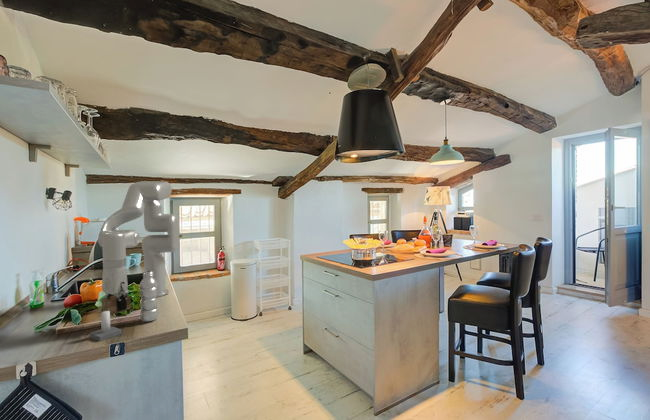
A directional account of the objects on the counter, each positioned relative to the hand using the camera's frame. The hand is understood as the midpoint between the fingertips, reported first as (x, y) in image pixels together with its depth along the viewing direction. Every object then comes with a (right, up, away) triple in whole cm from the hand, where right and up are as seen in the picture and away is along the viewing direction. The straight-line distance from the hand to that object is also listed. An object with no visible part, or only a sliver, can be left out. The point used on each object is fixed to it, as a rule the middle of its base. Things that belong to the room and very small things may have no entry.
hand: (116, 308), depth 119 cm
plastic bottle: (+11, -6, +3) cm, 13 cm away
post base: (+3, -7, -10) cm, 13 cm away
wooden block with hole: (0, -1, 0) cm, 1 cm away
